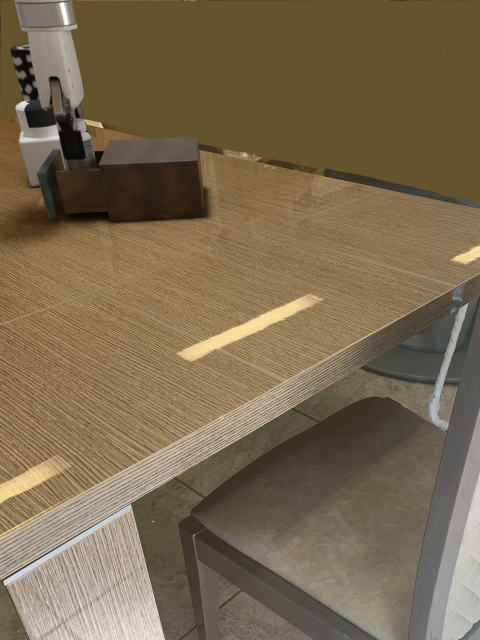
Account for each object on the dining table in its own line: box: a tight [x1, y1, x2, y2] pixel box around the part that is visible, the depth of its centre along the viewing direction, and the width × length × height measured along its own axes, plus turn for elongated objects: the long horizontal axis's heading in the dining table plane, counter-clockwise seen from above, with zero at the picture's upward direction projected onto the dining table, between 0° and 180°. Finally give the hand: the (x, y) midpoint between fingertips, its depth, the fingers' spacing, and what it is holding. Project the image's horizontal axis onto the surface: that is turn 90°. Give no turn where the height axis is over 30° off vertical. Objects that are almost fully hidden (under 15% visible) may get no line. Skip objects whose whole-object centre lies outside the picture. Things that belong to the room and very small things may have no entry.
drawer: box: [37, 148, 108, 219], centre depth 103 cm, size 15×13×7 cm
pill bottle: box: [59, 118, 98, 170], centre depth 100 cm, size 5×5×8 cm
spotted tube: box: [9, 43, 68, 108], centre depth 120 cm, size 8×8×20 cm
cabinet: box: [98, 136, 205, 223], centre depth 104 cm, size 15×15×9 cm
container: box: [14, 100, 66, 187], centre depth 114 cm, size 8×8×13 cm
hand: (78, 152), depth 100 cm, fingers closed on pill bottle, 4 cm apart
